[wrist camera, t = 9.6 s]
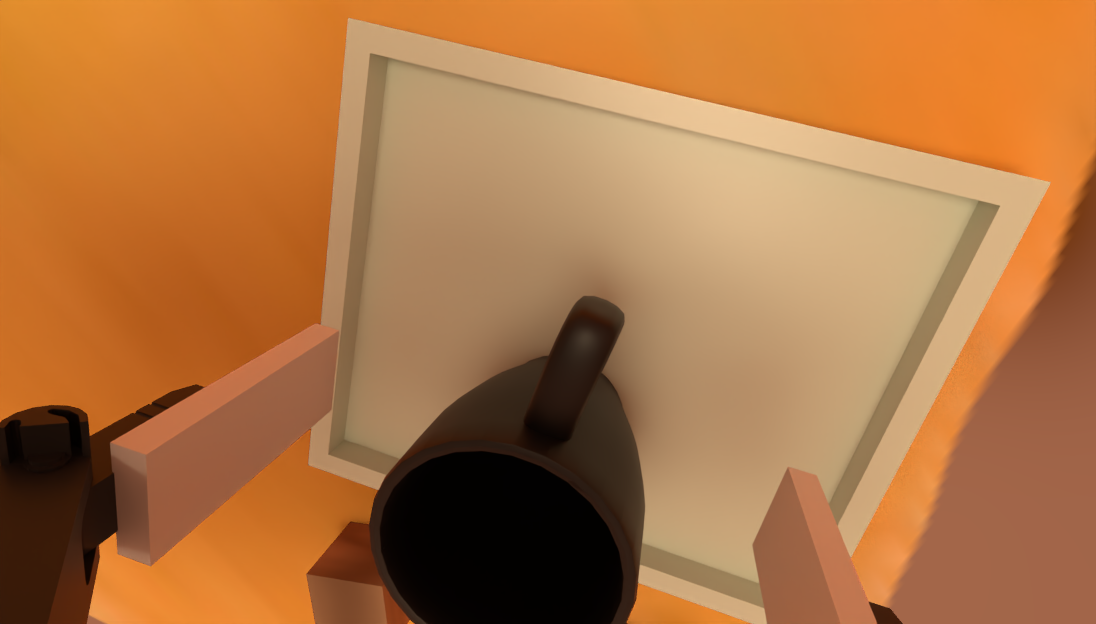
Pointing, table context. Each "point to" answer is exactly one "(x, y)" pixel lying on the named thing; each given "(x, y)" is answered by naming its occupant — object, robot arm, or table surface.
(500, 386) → the mug
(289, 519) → the table surface
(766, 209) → the tray
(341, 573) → the walnut cube
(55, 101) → the table surface
